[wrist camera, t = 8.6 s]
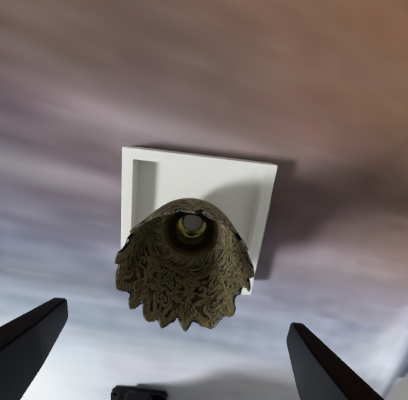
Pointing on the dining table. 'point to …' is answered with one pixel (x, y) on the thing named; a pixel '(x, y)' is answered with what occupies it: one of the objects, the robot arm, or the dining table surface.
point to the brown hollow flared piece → (184, 265)
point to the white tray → (198, 190)
